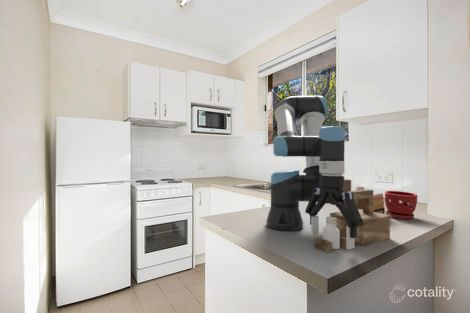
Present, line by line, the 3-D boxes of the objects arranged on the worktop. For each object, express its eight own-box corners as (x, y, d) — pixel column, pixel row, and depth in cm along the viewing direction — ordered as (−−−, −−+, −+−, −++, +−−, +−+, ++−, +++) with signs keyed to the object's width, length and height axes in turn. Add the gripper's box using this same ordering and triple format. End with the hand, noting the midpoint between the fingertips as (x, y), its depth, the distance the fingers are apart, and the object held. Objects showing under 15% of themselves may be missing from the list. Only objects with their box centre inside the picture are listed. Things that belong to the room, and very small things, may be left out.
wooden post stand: (330, 216, 90) (330, 190, 90) (358, 211, 98) (358, 187, 98) (362, 225, 79) (362, 194, 79) (391, 218, 87) (391, 191, 87)
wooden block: (364, 215, 121) (364, 179, 121) (346, 217, 118) (346, 180, 118) (358, 214, 125) (358, 178, 125) (341, 215, 121) (341, 179, 121)
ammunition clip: (373, 221, 110) (374, 194, 110) (369, 220, 112) (369, 194, 112) (384, 218, 117) (384, 193, 117) (380, 217, 118) (380, 192, 118)
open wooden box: (331, 235, 90) (331, 216, 90) (358, 229, 98) (358, 212, 98) (362, 246, 80) (362, 224, 80) (389, 238, 87) (389, 218, 87)
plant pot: (384, 218, 117) (384, 193, 117) (385, 212, 128) (385, 190, 128) (418, 222, 109) (418, 195, 109) (416, 216, 120) (416, 192, 120)
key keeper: (314, 246, 79) (314, 237, 79) (332, 242, 83) (332, 233, 83) (329, 253, 73) (329, 243, 73) (348, 248, 78) (348, 238, 78)
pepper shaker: (340, 249, 76) (340, 219, 76) (328, 250, 76) (328, 219, 76) (334, 245, 80) (334, 216, 80) (322, 245, 80) (322, 216, 80)
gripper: (295, 173, 87) (295, 232, 87) (360, 178, 66) (360, 257, 65) (310, 172, 91) (310, 229, 91) (377, 177, 69) (377, 252, 69)
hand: (331, 241), depth 78 cm, fingers open, 13 cm apart
